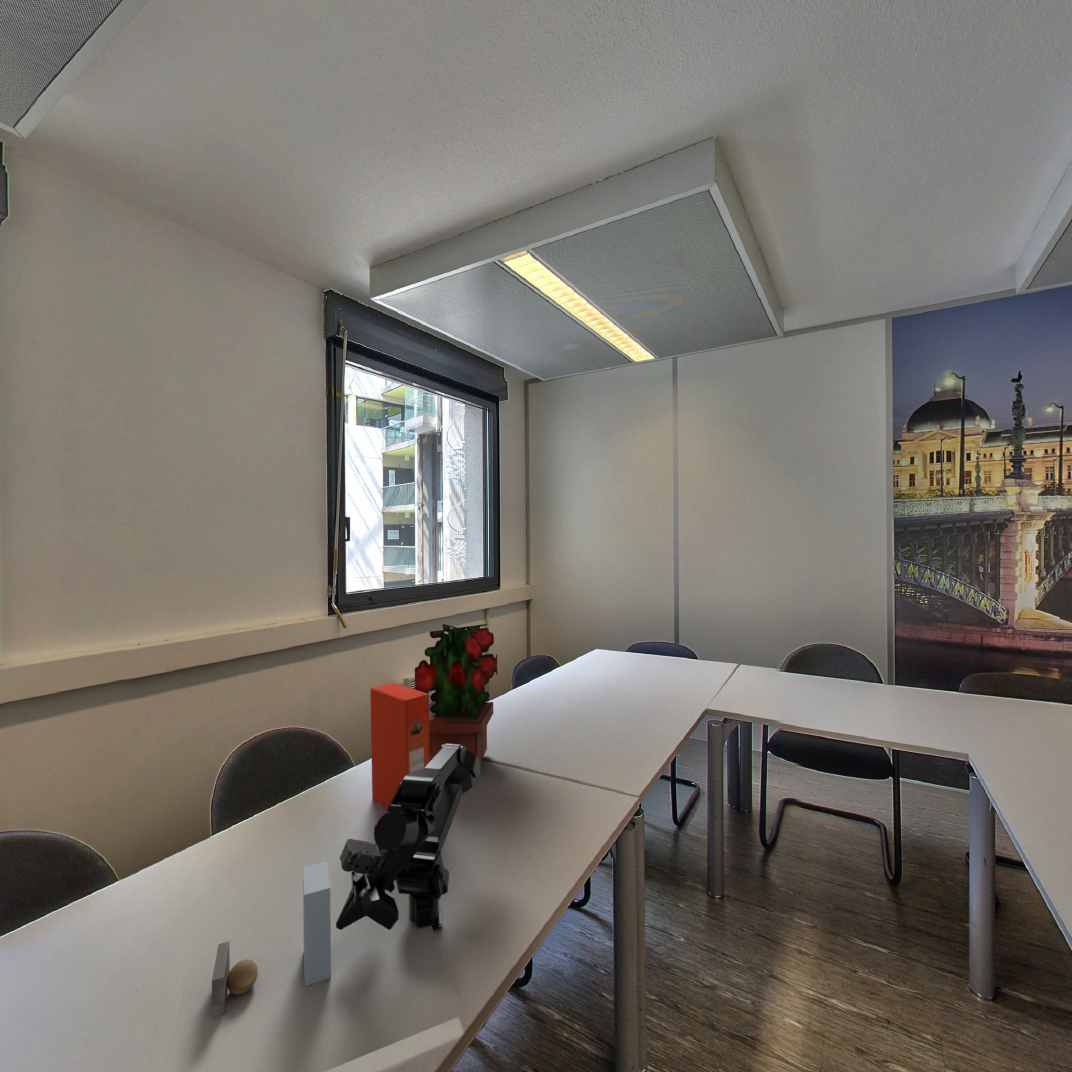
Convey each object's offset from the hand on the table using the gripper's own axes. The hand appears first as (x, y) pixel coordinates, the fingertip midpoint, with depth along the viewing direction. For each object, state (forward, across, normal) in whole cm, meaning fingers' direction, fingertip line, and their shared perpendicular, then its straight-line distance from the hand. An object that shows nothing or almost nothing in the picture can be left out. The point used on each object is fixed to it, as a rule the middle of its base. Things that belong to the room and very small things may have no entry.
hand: (337, 927), depth 91 cm
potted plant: (-26, -69, +37) cm, 82 cm away
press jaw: (+6, 0, +2) cm, 6 cm away
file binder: (-10, -51, +21) cm, 56 cm away
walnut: (+14, -1, -6) cm, 16 cm away
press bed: (+11, -1, -1) cm, 11 cm away
